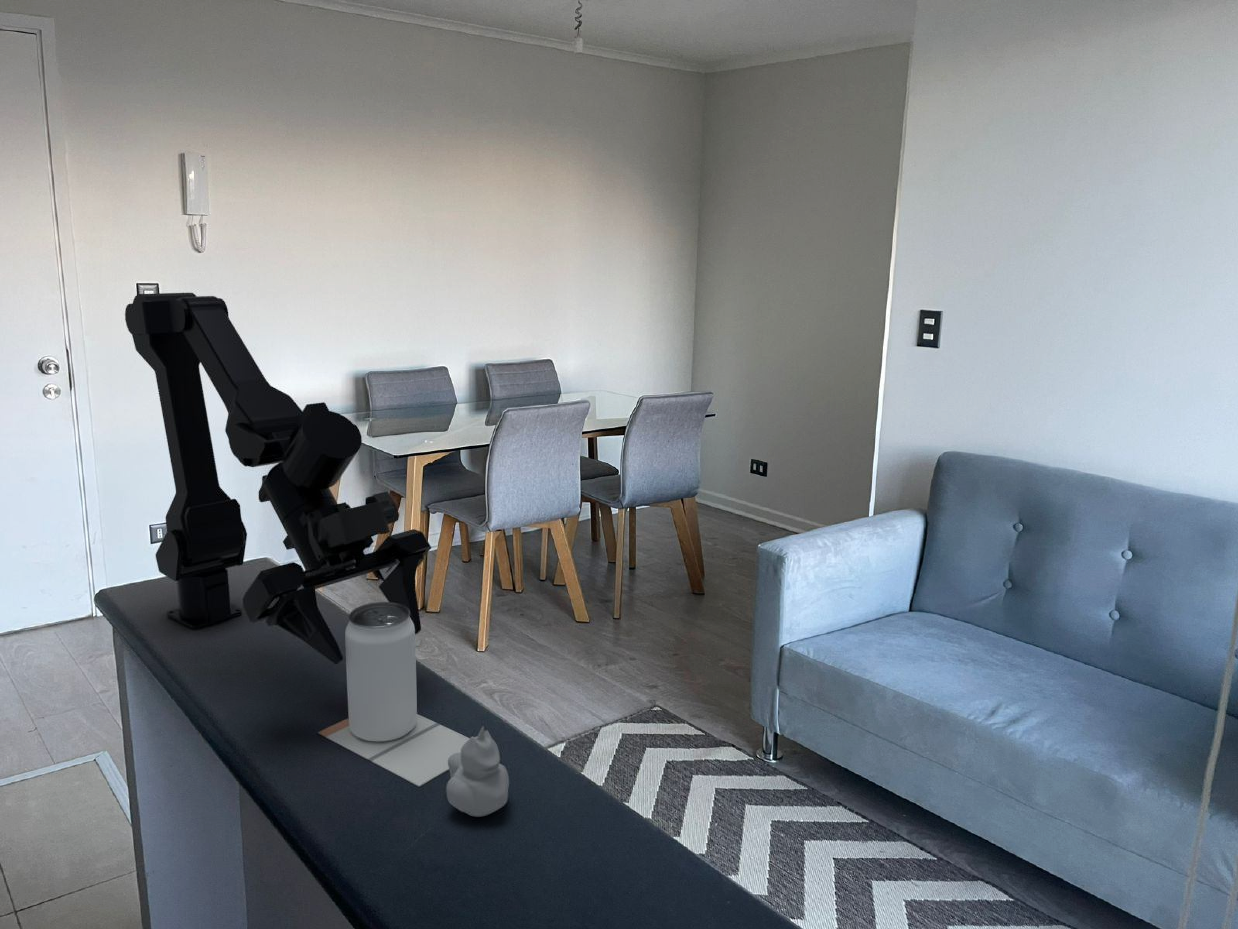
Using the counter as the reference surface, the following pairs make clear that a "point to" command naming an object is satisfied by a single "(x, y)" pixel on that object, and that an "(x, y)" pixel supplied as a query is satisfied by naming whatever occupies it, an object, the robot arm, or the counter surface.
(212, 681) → the counter surface
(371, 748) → the distance mat
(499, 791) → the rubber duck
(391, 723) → the can
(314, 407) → the robot arm
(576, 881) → the counter surface
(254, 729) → the counter surface
